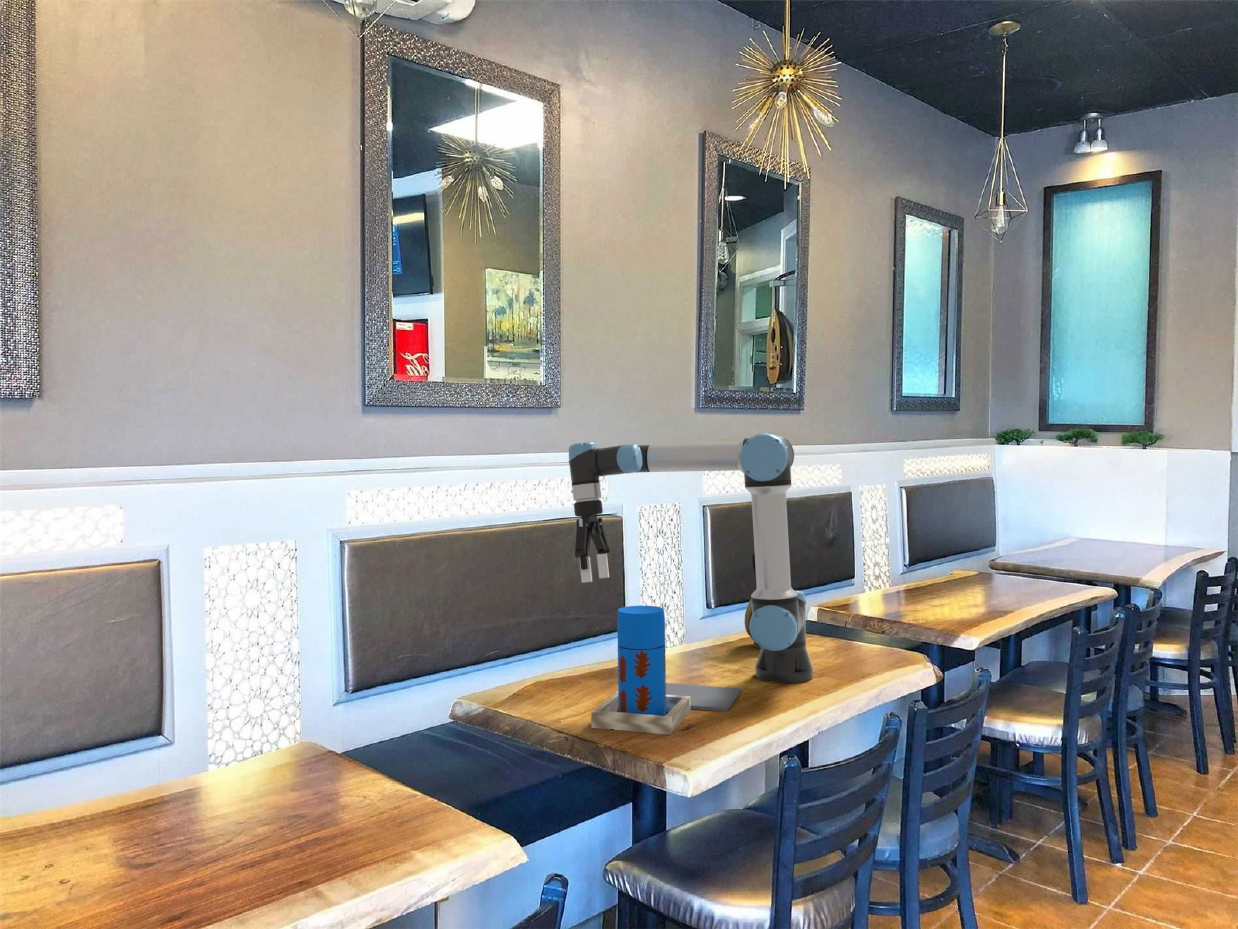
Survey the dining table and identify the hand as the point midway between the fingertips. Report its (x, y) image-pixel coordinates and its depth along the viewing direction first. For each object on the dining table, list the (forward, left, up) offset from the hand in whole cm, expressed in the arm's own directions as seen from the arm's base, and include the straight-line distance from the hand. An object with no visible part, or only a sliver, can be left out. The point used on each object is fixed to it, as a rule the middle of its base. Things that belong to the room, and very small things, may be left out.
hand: (595, 580), depth 244 cm
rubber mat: (-29, +11, -26) cm, 41 cm away
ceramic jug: (-37, -51, -27) cm, 68 cm away
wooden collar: (-22, +31, -26) cm, 46 cm away
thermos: (-22, +31, -27) cm, 47 cm away
